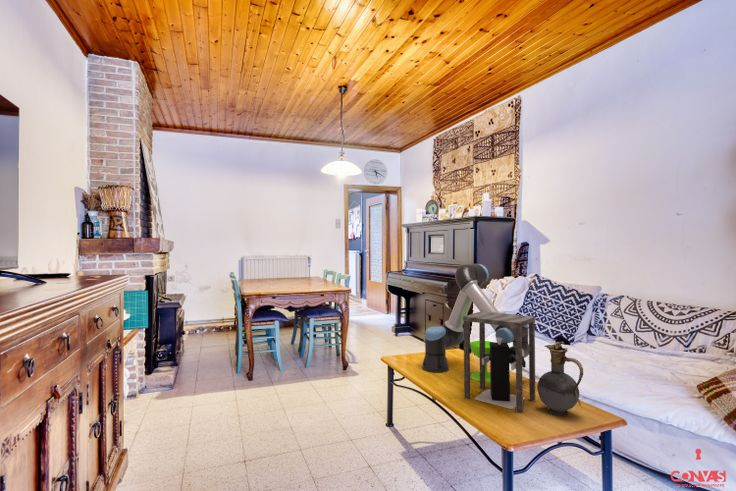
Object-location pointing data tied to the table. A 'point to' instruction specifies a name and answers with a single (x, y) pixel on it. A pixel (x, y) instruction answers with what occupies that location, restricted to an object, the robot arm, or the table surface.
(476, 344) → the wineglass
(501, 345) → the tissue box
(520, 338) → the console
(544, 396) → the pitcher
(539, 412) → the table surface
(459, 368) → the table surface
